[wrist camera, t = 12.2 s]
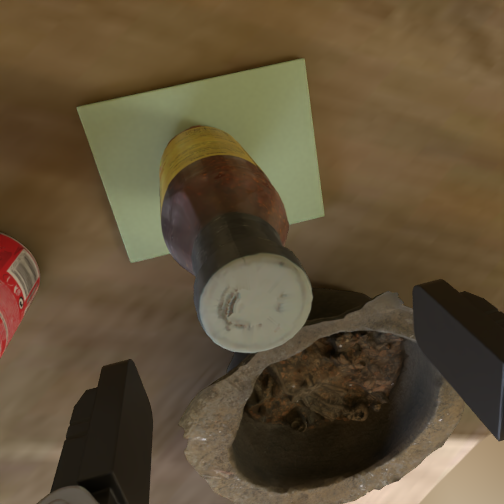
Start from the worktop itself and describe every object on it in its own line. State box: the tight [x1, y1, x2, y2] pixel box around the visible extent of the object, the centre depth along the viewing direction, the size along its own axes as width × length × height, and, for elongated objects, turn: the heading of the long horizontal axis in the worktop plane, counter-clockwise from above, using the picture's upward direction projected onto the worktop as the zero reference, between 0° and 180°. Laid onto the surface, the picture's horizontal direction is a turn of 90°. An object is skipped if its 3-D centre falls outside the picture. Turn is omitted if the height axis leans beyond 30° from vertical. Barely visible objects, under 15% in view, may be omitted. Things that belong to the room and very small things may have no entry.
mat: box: [77, 58, 324, 263], centre depth 33 cm, size 16×12×1 cm
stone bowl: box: [179, 288, 464, 504], centre depth 39 cm, size 25×25×9 cm
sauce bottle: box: [159, 125, 313, 353], centre depth 23 cm, size 7×6×20 cm
